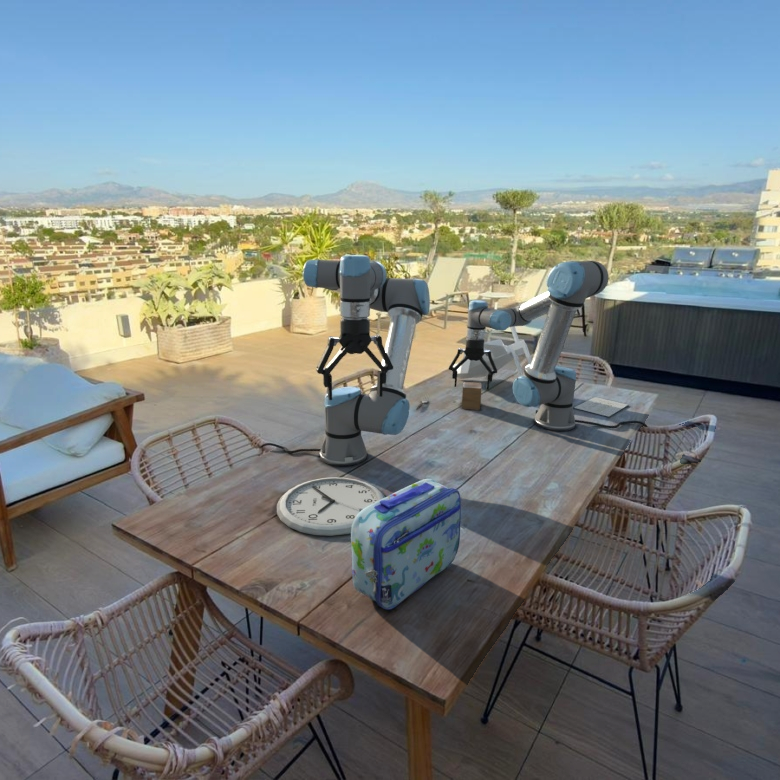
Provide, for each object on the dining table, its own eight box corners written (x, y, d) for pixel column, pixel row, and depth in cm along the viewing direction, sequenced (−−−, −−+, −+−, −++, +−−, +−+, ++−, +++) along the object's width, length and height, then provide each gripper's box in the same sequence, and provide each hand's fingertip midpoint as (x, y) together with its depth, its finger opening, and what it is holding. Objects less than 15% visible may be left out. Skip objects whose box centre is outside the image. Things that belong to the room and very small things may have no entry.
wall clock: (392, 527, 129) (268, 531, 127) (391, 533, 130) (269, 537, 127) (383, 473, 158) (282, 475, 155) (383, 478, 158) (282, 480, 156)
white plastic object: (474, 421, 262) (452, 398, 237) (456, 348, 284) (434, 320, 259) (546, 397, 250) (531, 370, 225) (521, 322, 272) (505, 290, 247)
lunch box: (380, 623, 100) (381, 528, 94) (344, 596, 108) (343, 505, 101) (464, 565, 118) (470, 482, 112) (428, 545, 125) (432, 466, 119)
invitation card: (608, 416, 214) (573, 407, 224) (608, 416, 214) (573, 408, 224) (628, 404, 229) (594, 396, 238) (628, 405, 229) (594, 397, 238)
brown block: (462, 402, 229) (463, 381, 226) (480, 403, 228) (481, 382, 225) (461, 408, 221) (462, 387, 218) (480, 409, 220) (481, 388, 217)
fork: (413, 410, 217) (413, 405, 217) (424, 399, 232) (424, 394, 231) (419, 411, 217) (419, 406, 216) (429, 399, 231) (430, 395, 230)
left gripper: (307, 321, 127) (310, 404, 133) (406, 318, 133) (403, 397, 139) (304, 316, 133) (306, 395, 140) (397, 314, 140) (395, 389, 146)
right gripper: (444, 338, 214) (441, 387, 221) (506, 342, 210) (501, 392, 217) (445, 334, 221) (442, 382, 228) (505, 338, 217) (500, 386, 224)
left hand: (355, 396), depth 140 cm, fingers open, 13 cm apart
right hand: (471, 387), depth 223 cm, fingers open, 13 cm apart
